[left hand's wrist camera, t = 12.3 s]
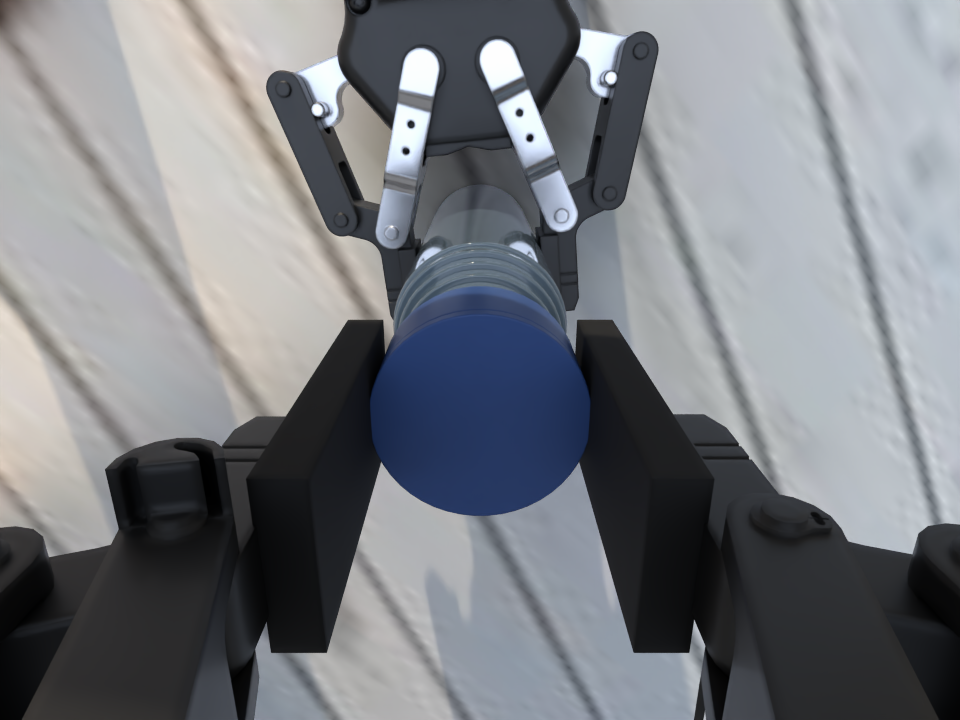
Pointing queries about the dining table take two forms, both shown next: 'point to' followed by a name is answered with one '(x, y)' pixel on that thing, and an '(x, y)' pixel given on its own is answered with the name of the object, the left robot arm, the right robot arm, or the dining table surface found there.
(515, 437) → the cap
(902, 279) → the dining table surface
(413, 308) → the bottle
